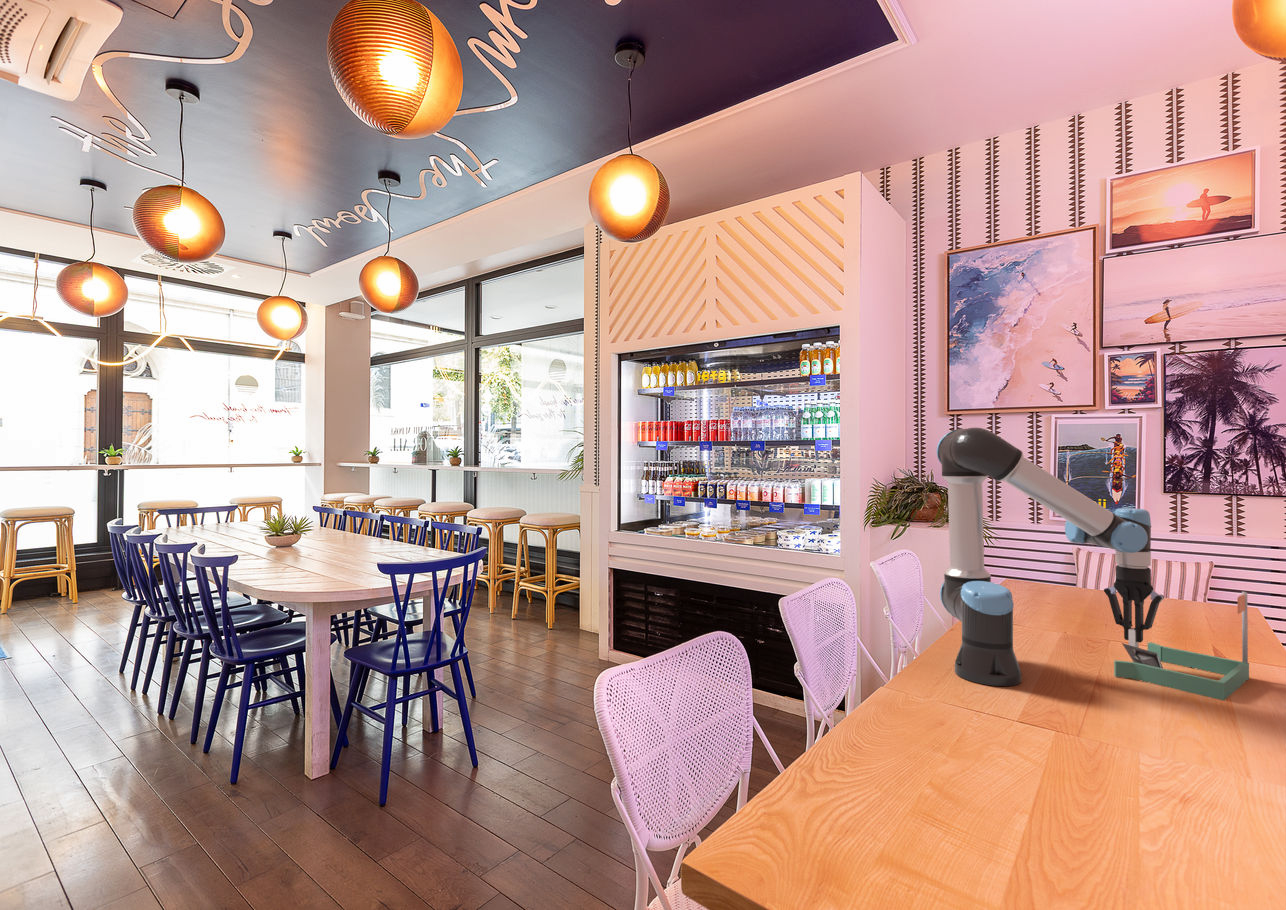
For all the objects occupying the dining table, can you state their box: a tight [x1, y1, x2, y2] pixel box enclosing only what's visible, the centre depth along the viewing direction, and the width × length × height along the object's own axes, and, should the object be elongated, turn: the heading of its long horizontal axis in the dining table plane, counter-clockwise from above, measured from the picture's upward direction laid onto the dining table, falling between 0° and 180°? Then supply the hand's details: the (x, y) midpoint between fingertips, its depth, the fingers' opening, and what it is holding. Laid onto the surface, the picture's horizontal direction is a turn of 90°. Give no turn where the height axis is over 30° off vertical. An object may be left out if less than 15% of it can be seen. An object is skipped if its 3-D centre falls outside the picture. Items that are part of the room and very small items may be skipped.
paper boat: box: [1121, 642, 1164, 669], centre depth 162 cm, size 12×6×9 cm
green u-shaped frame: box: [1113, 591, 1250, 701], centre depth 159 cm, size 21×27×22 cm
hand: (1133, 653), depth 167 cm, fingers closed
